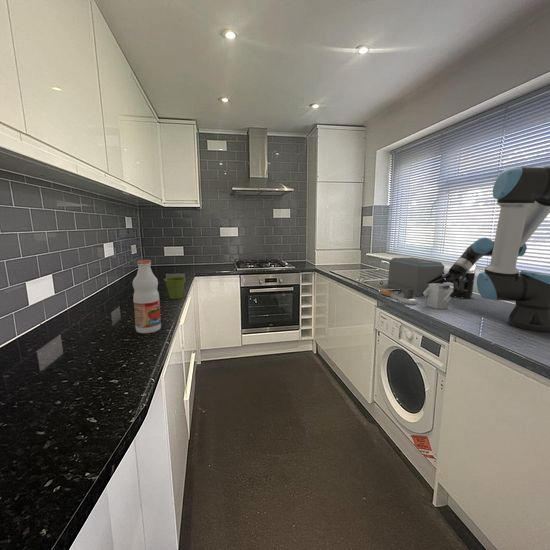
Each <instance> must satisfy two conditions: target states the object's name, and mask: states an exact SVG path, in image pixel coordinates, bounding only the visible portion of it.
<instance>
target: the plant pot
mask: <svg viewBox="0 0 550 550" xmlns="http://www.w3.org/2000/svg"><path fill="white" fill-rule="evenodd" d="M186 280H187V278H186V277H184V276H171V277H166V278H164V279H163V281H164V282H165V285H166V288H167V292H168V295H169V299H170V300H176V299H177V300H180V299H183V297H184V290H185V289H184V288H185V282H186Z"/></svg>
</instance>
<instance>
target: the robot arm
mask: <svg viewBox="0 0 550 550" xmlns="http://www.w3.org/2000/svg"><path fill="white" fill-rule="evenodd" d="M492 197H493V198H494V199H495V200H497V202H496V204H497V205H498V207H500V210H499V216H498V221H497V226H496V227H497V228H496V231H495V238H494V240H492V239H490V238H488V237H485V236H483V237H479V238H478V239H477V240H474V242H473V243H471V244H470V245H469V246H468V247H467V248H466V250H465V251H463V253H462V254H461V255H460V257H458V259H457V260H456V261H455V262H454V263H453V264H452V265H451V266H450V268H449V269H448V272H447V273H446V272H445V271H444V272H442V273H441V274H440V275H438V276H436V277H435V278H433V279H432V280H430V281H428V284H431V283H441V284H442V283H443V284H446V283H450V284H452V285H453V287H454V289H453V288H452V289H451V290H450V291H449V294H448V295H447V296H446V297H445V298H444V301H445V302H446V303H448V304H449V303H450V301H451V300H452V299H454V298H455V295H456V294H458V293H460V294H462V293H463V289H464V284H465V281H466V280H467V279H466V277H465V274H466V273H467V272H468V271H469V270H470V269H471V267H472V266H473V265H474V264H475V263H476V264H477V262H478V261H479V260H480V259H481V258H482V257H491V258H490V262H489V265H486V266H485V268H484V272H479V273H478V275H477V277H476V288H477V290H478V291H477V292H478V293H479V296H480V297H481V298H483V299H484V300H490V301H491V300H492V301H508V302H515V305H514V307H513V309H512V310H511V312H510V314H509V315H508V318H507V323H508V324H509V325H511V326H513V327H517V328H520V329H523V330H527V331H528V330H529V331H533V332H534V331H535V332H540V333H541V332H542V333H543V332H544V333H545V332H546V333H548V332H549V333H550V274H548V273H542V272H537V271H536V272H535V271H529V270H519V269H518V268H517V262H518V257H522V256H524V255H525V254H526V251H527V242H528V240H529V239H530V238H531V237H532V235H533V234H534V233H535V232H536V230H537V229H538V228H539V227H540V226H541V224H542V223H543V222H544V220H545V219H546V218H547V216H548V215H550V166H535V167H534V166H531V167H530V166H528V167H527V166H526V167H522V166H521V167H511V168H505V169H504V170H502V172H500V174H499V175H498V176H497V178H496V179H495V181H494V184H493V187H492ZM459 280H460V282H459V287H458V281H459ZM428 287H429V286H428ZM428 287H427V288H426V290H425V291H424V292H422V295H423V296H424V297H425V298H427V297H428ZM453 290H454V291H453Z"/></svg>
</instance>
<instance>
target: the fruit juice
mask: <svg viewBox="0 0 550 550" xmlns="http://www.w3.org/2000/svg"><path fill="white" fill-rule="evenodd" d="M151 264H152V260H151V259H139V260H136V265H137V266H138V267H137V273H136V276H135V277H134V278H133V280H132V288H133V290H134V291H133V299H132V300H133V301H132V302H133V310H134V323H135V324H134V325H135V331H136V333H139V334H151V333H156V332H157V331H158V332H159V330H161V328H162V320H161V305H160V303H161V302H160V301H161V300H160V294H159V293H160V292H159V291H158V285H159V280H158V278H157V277H156V276H155V274H154V273H153V270H152V268H151Z"/></svg>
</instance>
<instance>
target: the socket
mask: <svg viewBox="0 0 550 550" xmlns="http://www.w3.org/2000/svg"><path fill="white" fill-rule="evenodd" d="M450 288H451V285H449V284H446V283H443V284H441V283H431V284H429V287H428V295H427V297H426V299H427V300H426V306H427V307H430V308H431V309H435V310H440V309H441V310H442V309H448V307H449V302H448V303H446V302H445V301H444V298H445V297H446V296H447V295H448V294H449V293H450V291H451V290H450Z"/></svg>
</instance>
